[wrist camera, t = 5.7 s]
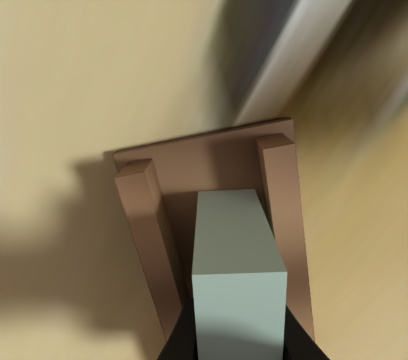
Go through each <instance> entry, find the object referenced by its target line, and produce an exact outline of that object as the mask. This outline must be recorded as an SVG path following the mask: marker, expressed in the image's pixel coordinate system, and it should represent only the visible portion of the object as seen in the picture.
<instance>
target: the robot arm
mask: <svg viewBox="0 0 408 360" xmlns="http://www.w3.org/2000/svg"><path fill="white" fill-rule="evenodd" d="M157 360H198V349H197V336H196V323H195V310H194V298H187V299H186V300H184V304H183V307H182V310H181V312H180V315H179V317H178V320H177V322H176V324H175V326H174V329H173V331H172V333H171V335H170V337H169V339H168V341H167V343H166V345H165V346H164V348H163V350H162V352H161V353H160V355H159V357H158V359H157ZM282 360H330V359H329V358H328V357H327V356H326V355H325V354H324V353H323V351H322V350H321V349H320V348H319V347H318V346H317V344H316V343H315V342H314V341H313V340H312V338H311V337H310V336H309V335H308V333H307V332H306V331H305V330H304V328H303V327H302V326H301V325H300V323H299V322H298V321H297V319H296V318H295V316H294V315H293V314H292V312H291V311H290V309H289V308H288V306H287V305H286V306H285V324H284V341H283V359H282Z"/></svg>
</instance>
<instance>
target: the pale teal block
mask: <svg viewBox="0 0 408 360" xmlns="http://www.w3.org/2000/svg"><path fill="white" fill-rule="evenodd" d="M192 284H193V297H194V310H195V323H196V336H197V349H198V360H282V359H283V341H284V324H285V306H286V288H287V269H286V267H285V264H284V262H283V259H282V257H281V254H280V252H279V249H278V247H277V244H276V242H275V239H274V236H273V234H272V231H271V229H270V226H269V224H268V221H267V219H266V216H265V214H264V211H263V209H262V206H261V203H260V201H259V198H258V196H257V193H256V191H255V189H242V190H218V191H198V202H197V215H196V228H195V241H194V254H193V267H192Z"/></svg>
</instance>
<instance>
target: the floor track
mask: <svg viewBox="0 0 408 360" xmlns="http://www.w3.org/2000/svg"><path fill="white" fill-rule="evenodd" d="M113 156H114V159H115V163H116V166H117V169H118V172H119V173H118V174H117V175H116V176H115V177H114V180H115V183H116V186H117V189H118V192H119V195H120V199H121V202H122V205H123V208H124V211H125V214H126V217H127V220H128V223H129V227H130V230H131V233H132V236H133V239H134V242H135V245H136V248H137V251H138V255H139V258H140V261H141V264H142V267H143V270H144V273H145V276H146V279H147V283H148V286H149V289H150V292H151V295H152V298H153V301H154V304H155V307H156V311H157V314H158V317H159V320H160V323H161V326H162V329H163V332H164V335H165V339H166V342H167V341H168V339H169V337H170V335H171V333H172V331H173V329H174V326H175V324H176V322H177V320H178V317H179V315H180V312H181V310H182V307H183V304H184V300H186V299H187V298H194V297H193V284H192V267H193V254H194V241H195V228H196V215H197V202H198V191H218V190H242V189H255V191H256V193H257V196H258V198H259V201H260V203H261V206H262V209H263V211H264V214H265V216H266V219H267V221H268V224H269V226H270V229H271V231H272V234H273V236H274V239H275V242H276V244H277V247H278V249H279V252H280V254H281V257H282V259H283V262H284V264H285V267H286V269H287V288H286V305H287V306H288V308H289V309H290V311H291V312H292V314H293V315H294V316H295V318H296V319H297V321H298V322H299V323H300V325H301V326H302V327H303V328H304V330H305V331H306V332H307V333H308V335H309V336H310V337H311V338H312V340H313V341H314V342H315V337H314V327H313V317H312V307H311V297H310V287H309V277H308V267H307V257H306V247H305V237H304V226H303V216H302V206H301V196H300V186H299V176H298V166H297V156H296V146H295V136H294V126H293V119H291V118H290V117H288V118H283V119H278V120H273V121H268V122H263V123H258V124H253V125H248V126H243V127H238V128H233V129H227V130H222V131H217V132H212V133H207V134H202V135H197V136H192V137H187V138H182V139H177V140H172V141H167V142H162V143H157V144H151V145H146V146H141V147H136V148H131V149H126V150H121V151H117V152H116V153H114V154H113Z"/></svg>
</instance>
